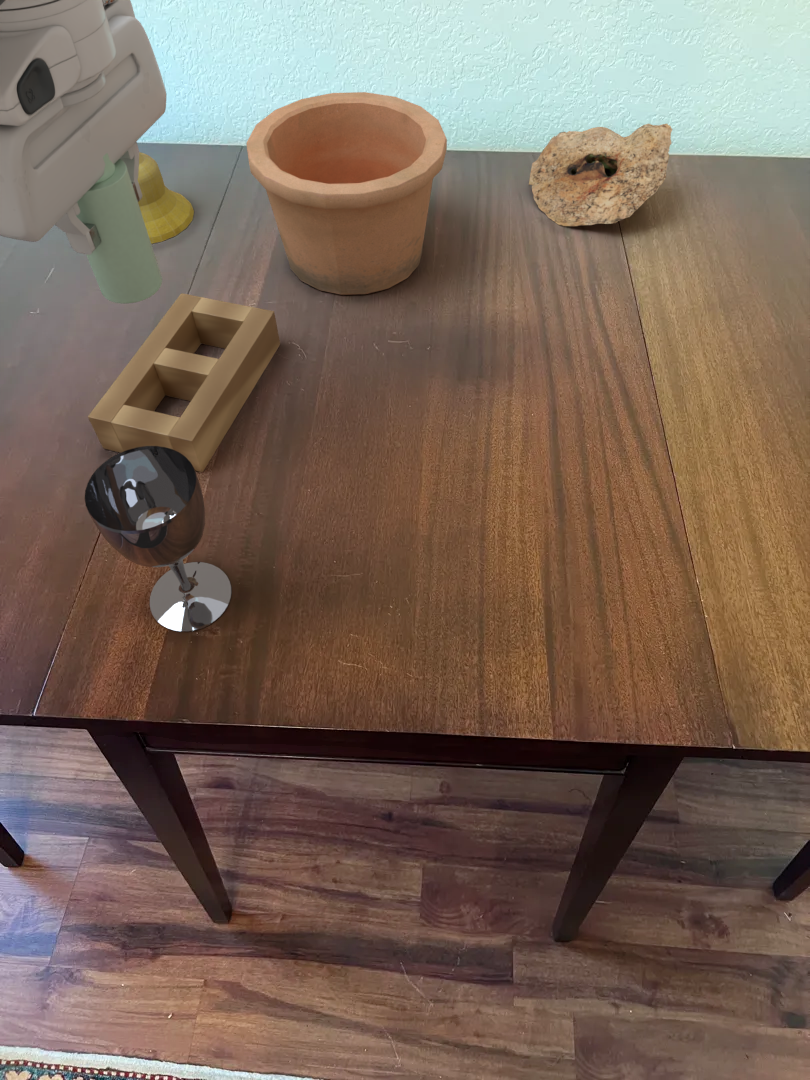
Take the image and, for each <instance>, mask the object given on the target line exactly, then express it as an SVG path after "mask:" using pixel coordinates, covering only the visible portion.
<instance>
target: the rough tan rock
mask: <svg viewBox="0 0 810 1080" xmlns="http://www.w3.org/2000/svg"><path fill="white" fill-rule="evenodd" d="M672 132H673V128H672V126H671V125H669V124H668V123H663V124H658V125H657V124H656V125H655V124H654V125H653V124H651V123H645V124H643V125H641V126H640V127H638V128H636V129H635V130H634V131H633V132H631V133H630V134H629V135H627V136H622V135H620V134H619V133H618V132H615V131H614V130H612V129H610V128H608V127H605V126H595V127H591V128H588V129H585V130H583V131H577V130H572V131H571V130H568V131H567V132H566V131H561V132H559V133H557V134H556V135H554V136H552V138H550V139H549V141H548V143H547V144H546V145H545V147H544V148H543V149H542V151H541V152H540V155H539V156H538V157H537V159H536V160H535V161H533V162H532V163H531V167H530V173H529V178H528V179H529V180H528V186H531V190H532V191H531V192H532V195H533V197H532V198H533V200H534V202H535V204H536V205H537V208H538V209H539V210H540V211H542V213H544V215H546V217H547V218H548V219H550V220H551V221H552V222H554V223H555V224H556V225H558V226H563V227H580V226H593V225H598V224H603V225H604V224H605V225H611V224H617V223H618V222H620V221H623V220H624V219H627V218H630V217H631V216H632V215H634V213H635V212H636V211H637V210H638V209H640V207H641V206H643V204H645V202H646V201H647V200H648V199H649V198H651V197H652V196H653V195H654V194H657V191H658V189H659V188H661V186H662V185H663V183H664V182H665V180H666V178H667V170H668V169H667V168H668V163H669V160H670V153H669V152H670V147H671V146H672V139H671V138H672Z"/></svg>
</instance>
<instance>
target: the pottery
mask: <svg viewBox="0 0 810 1080" xmlns="http://www.w3.org/2000/svg"><path fill="white" fill-rule="evenodd" d="M447 150H448V139H447V136H446V134H445V132H444V129H443V127H442V124H441V123H440V120H439V119H437V117H435V116H434V115H433V114H431V113H430V112H429V111H427V110H426V109H425V108H424V107H422V106H421V105H419V104H416V103H413V102H410V101H407V100H405V99H403V98H400V97H397V96H393V95H387V94H380V93H374V92H367V91H358V92H357V91H355V92H351V91H350V92H330V93H326V94H325V93H324V94H321V95H315V96H310V97H305V98H301V99H298V100H296V101H293V102H291V103H289V104H288V103H287V104H286V105H284V106H281V107H279V108H277V109H275V110H273V111H272V112H270V113H269V114H267V116H265V117H264V118H263V119H261V120H260V121H259V122H258V123H256V124H255V125H254V128H253V129H252V132H251V133H250V135H249V137H248V139H247V141H246V151H247V158H248V165H249V170H250V174H251V175H252V176H253V177H254V178H255V179H256V181H257V182H259V184H260V185H261V186H262V187H263V188H264V189H265V193H266V194H267V198H268V201H269V204H270V208H271V210H272V213H273V216H274V221H275V224H276V225H277V229H278V232H279V235H280V238H281V242H282V245H283V249H284V251H285V255H286V257H287V261H288V264H289V269H290V270H291V271H292V272H293V273H294V274H295V275H296V277H297V278H298V279H299V281H301V282H304V283H305V284H307V285H309V286H310V287H313V288H315V289H316V290H318V291H321V292H326V293H332V294H336V295H341V296H348V295H349V296H350V295H351V296H353V295H356V296H357V295H368V294H373V293H377V292H381V291H385V290H388V289H390V288H392V287H394V286H396V285H398V284H399V283H401V282H403V281H404V280H406V279H408V278H409V277H410V276H411V275H412V273H413V272H414V271H416V269H417V268H418V267H419V266H420V263H421V259H422V255H423V249H424V248H423V246H424V240H425V233H426V227H427V220H428V215H429V209H430V201H431V194H432V189H433V182H434V178H435V177H436V176H437V175H438V174H439V173H440V172H441V171H442V169H443V167H444V162H445V157H446V154H447Z"/></svg>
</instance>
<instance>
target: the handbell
mask: <svg viewBox="0 0 810 1080" xmlns="http://www.w3.org/2000/svg"><path fill="white" fill-rule="evenodd" d="M138 183H139V186H140V189H141V192H142V198H141V199H140V200H139V202H138V204H139V207H140V210H141V214H142V217H143V220H144V223H145V226H146V229H147V232H148V235H149V239H150V242H151V245H152V244H157V243H163V242H165V241H166V240H169V239H172V238H174V237H177V236H178V235H179V234H180V233H182V232H183V231H185V230H186V229H188V227H189V225H190V224H191V223H192V221H193V220H194V214H195V210H194V207H193V205H192V203H191V202H190V201H189V200H188V198H186V197H185V196H184V195H182V194H181V193H179V192H176V191H173V190H172V189H169V188H168V187H167V186H166V185H165V182H164V178H163V175H162V173H161V170H160V167H159V164H158V162H157V161H156V159H154V158H153V157H152V156H151V155H149V154H147V153H143V152H140V151H139V171H138Z"/></svg>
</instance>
